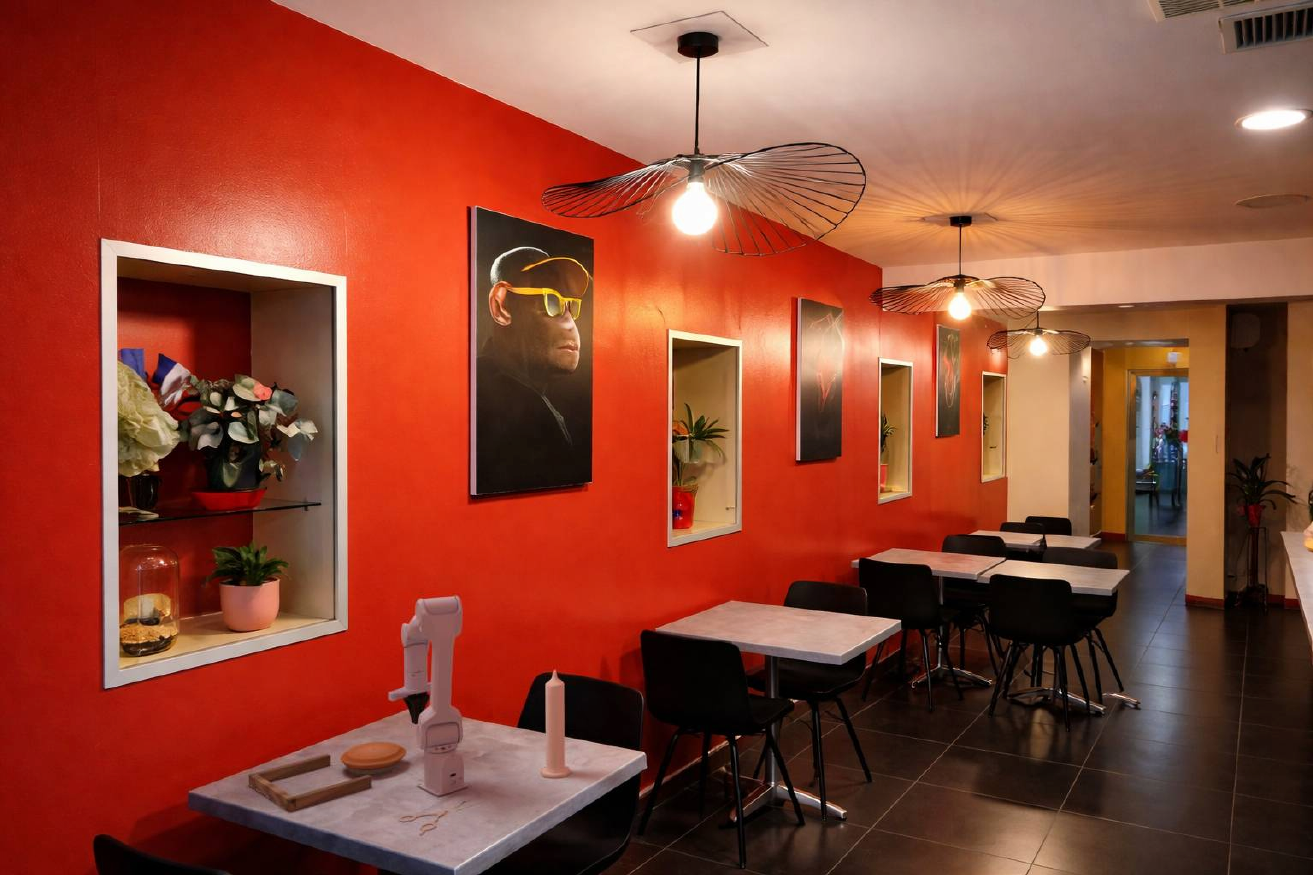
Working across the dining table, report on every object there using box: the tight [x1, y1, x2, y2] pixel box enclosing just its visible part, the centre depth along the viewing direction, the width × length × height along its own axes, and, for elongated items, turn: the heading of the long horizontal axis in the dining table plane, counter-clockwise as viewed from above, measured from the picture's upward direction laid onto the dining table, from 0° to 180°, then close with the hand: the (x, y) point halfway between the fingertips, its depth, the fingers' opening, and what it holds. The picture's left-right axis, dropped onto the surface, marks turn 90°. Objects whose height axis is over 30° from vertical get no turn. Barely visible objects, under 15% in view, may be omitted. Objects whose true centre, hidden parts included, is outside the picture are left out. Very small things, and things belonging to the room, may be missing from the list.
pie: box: [340, 741, 407, 777], centre depth 231 cm, size 16×16×5 cm
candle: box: [540, 669, 571, 779], centre depth 227 cm, size 7×7×25 cm
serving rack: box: [248, 753, 372, 812], centre depth 219 cm, size 22×20×2 cm
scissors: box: [397, 796, 473, 836], centre depth 204 cm, size 11×1×20 cm
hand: (416, 722), depth 239 cm, fingers closed
